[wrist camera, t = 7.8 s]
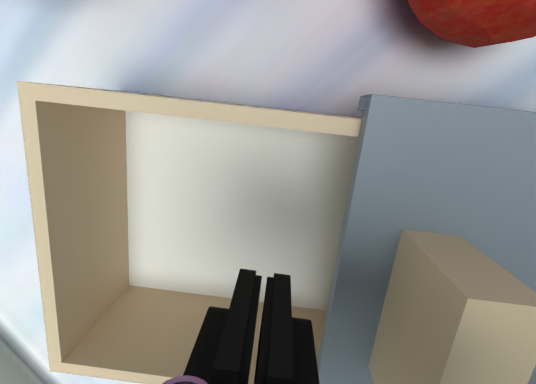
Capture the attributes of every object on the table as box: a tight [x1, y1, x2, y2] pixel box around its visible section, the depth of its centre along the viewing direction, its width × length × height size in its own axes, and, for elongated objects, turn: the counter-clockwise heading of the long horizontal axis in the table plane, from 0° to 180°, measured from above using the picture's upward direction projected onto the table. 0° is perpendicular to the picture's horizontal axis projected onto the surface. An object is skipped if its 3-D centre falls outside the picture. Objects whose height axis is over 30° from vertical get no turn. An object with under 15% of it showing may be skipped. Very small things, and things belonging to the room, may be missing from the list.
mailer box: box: [17, 81, 362, 384], centre depth 16 cm, size 13×18×7 cm
